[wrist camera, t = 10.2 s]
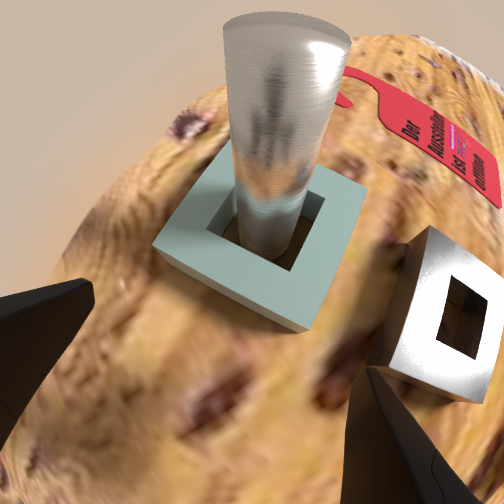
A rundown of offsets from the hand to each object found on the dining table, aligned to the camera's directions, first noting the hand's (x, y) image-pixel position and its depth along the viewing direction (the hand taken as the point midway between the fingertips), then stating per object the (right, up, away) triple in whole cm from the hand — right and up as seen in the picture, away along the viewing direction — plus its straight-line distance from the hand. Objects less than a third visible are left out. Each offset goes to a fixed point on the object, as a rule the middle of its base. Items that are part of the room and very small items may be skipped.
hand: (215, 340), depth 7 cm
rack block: (+2, +4, +10) cm, 10 cm away
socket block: (+14, -3, +7) cm, 16 cm away
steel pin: (+2, +4, +9) cm, 10 cm away
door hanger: (+19, +16, +15) cm, 29 cm away
